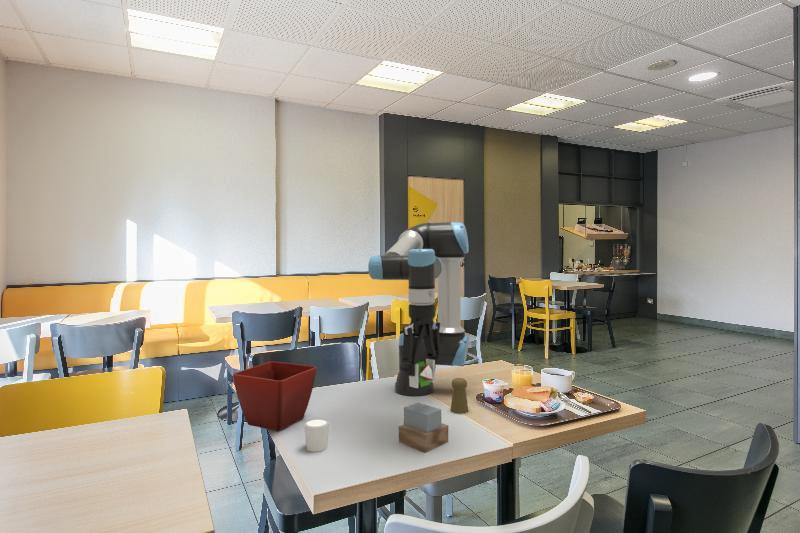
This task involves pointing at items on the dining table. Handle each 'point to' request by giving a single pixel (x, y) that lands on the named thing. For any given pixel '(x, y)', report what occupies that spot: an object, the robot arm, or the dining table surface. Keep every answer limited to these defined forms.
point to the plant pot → (274, 393)
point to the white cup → (316, 434)
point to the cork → (459, 396)
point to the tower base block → (423, 437)
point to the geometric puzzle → (424, 374)
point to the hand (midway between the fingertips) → (422, 384)
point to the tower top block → (422, 417)
